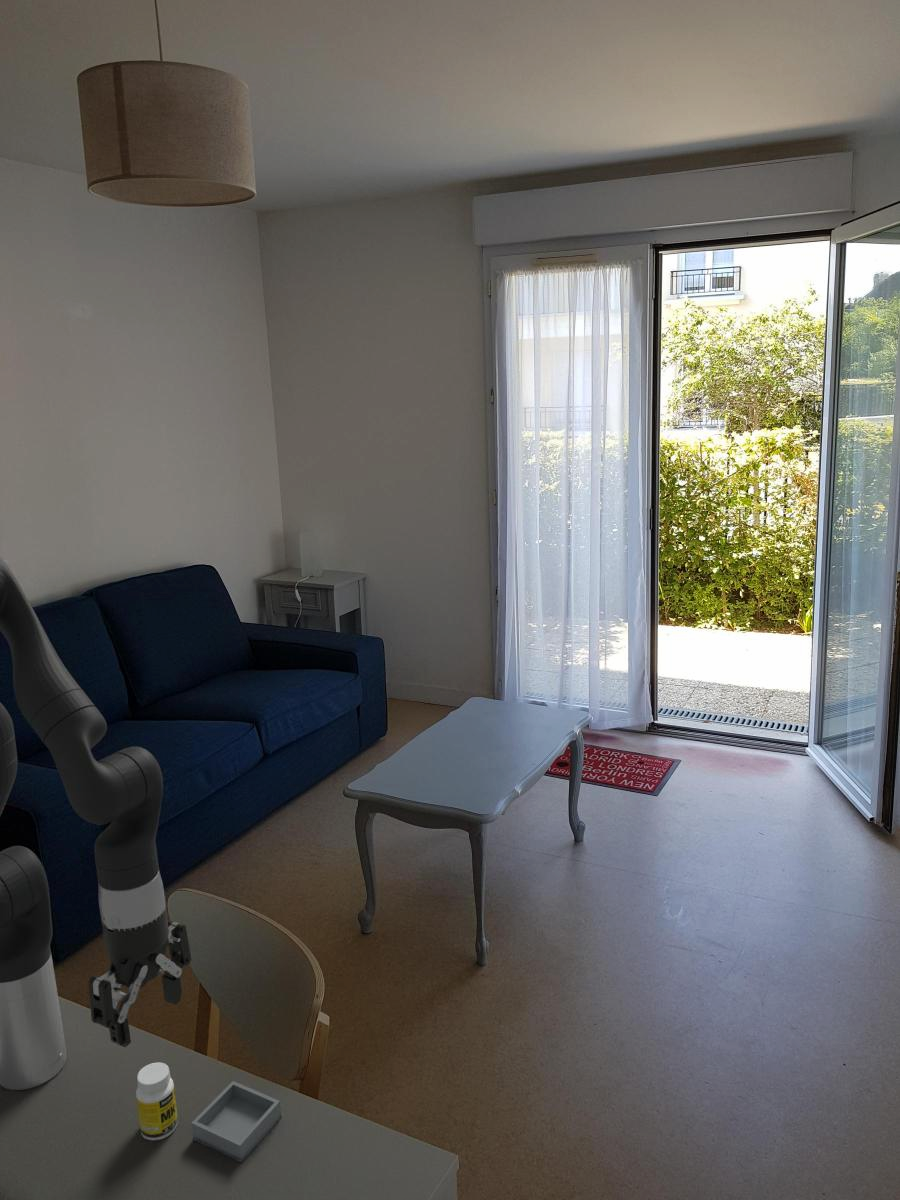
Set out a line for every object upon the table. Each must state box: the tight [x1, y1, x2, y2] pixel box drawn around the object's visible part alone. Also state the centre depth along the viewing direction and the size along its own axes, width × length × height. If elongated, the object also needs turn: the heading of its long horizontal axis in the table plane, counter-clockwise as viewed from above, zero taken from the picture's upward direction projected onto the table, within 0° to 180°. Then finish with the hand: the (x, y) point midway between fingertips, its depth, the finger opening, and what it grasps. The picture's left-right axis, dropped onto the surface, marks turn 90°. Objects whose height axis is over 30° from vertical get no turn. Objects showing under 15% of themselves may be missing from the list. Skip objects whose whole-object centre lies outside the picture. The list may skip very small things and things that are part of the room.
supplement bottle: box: [135, 1062, 179, 1141], centre depth 121 cm, size 5×5×8 cm
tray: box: [190, 1080, 282, 1163], centre depth 121 cm, size 8×8×3 cm
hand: (148, 1022), depth 117 cm, fingers open, 8 cm apart
